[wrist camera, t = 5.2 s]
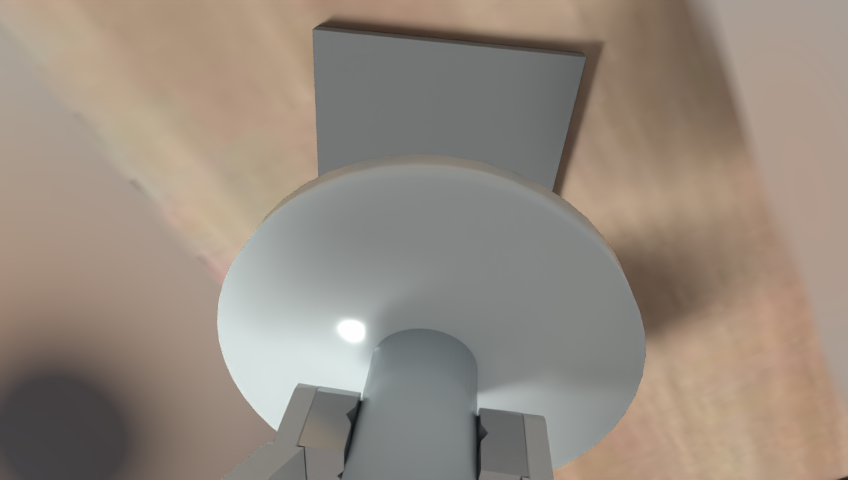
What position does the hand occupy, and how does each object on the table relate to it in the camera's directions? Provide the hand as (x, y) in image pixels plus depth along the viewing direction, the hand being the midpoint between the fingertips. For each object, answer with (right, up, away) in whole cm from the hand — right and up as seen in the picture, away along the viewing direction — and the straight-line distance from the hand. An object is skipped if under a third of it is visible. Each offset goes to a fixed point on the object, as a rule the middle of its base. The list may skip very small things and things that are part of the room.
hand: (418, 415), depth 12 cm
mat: (+1, +9, +13) cm, 16 cm away
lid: (0, +1, +2) cm, 3 cm away
